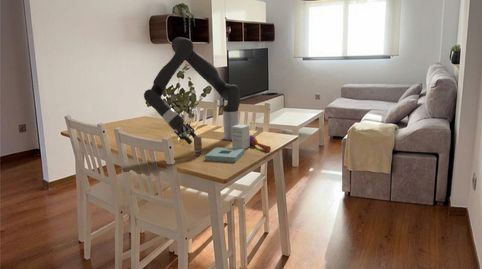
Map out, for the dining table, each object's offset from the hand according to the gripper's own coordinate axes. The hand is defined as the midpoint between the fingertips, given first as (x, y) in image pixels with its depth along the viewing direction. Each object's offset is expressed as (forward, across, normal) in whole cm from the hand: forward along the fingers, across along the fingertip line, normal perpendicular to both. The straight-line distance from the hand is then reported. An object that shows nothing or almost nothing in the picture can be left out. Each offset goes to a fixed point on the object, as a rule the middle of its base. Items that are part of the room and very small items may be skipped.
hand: (194, 141), depth 205 cm
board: (+17, 0, -7) cm, 19 cm away
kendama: (+26, +21, -15) cm, 37 cm away
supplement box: (+20, +19, -9) cm, 29 cm away
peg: (+7, 0, +4) cm, 8 cm away
